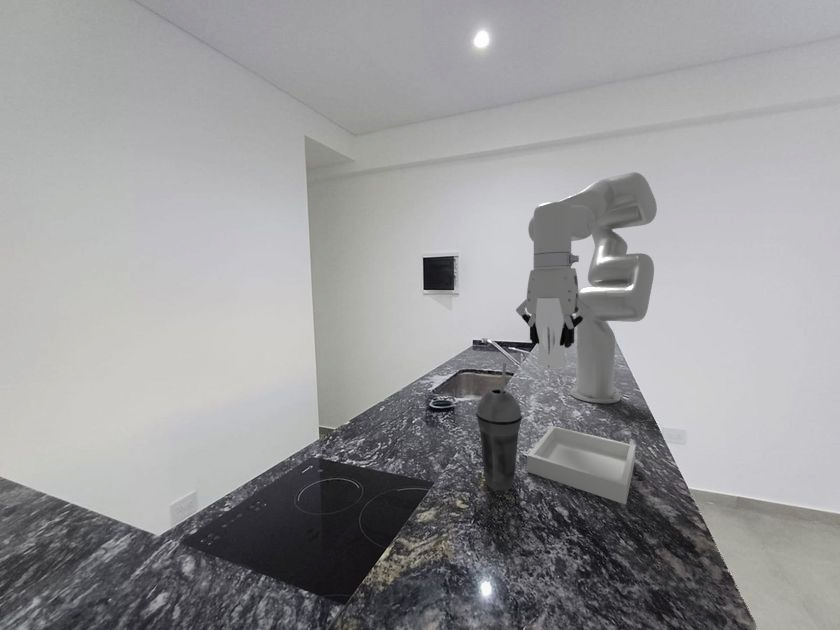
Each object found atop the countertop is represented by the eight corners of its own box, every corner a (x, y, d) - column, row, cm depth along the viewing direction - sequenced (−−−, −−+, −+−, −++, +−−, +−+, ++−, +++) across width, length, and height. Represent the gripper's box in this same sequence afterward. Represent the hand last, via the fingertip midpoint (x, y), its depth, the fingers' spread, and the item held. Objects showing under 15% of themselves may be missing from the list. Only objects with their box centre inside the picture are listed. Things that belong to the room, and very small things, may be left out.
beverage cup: (468, 475, 55) (467, 361, 54) (504, 466, 58) (504, 357, 56) (492, 501, 49) (491, 371, 47) (531, 489, 51) (532, 366, 50)
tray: (551, 439, 68) (551, 425, 67) (634, 461, 59) (635, 445, 58) (527, 471, 56) (527, 455, 56) (625, 504, 47) (626, 485, 47)
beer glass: (562, 361, 74) (562, 296, 73) (573, 368, 67) (573, 297, 66) (531, 361, 75) (530, 297, 74) (539, 369, 68) (538, 298, 67)
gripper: (600, 260, 67) (598, 346, 68) (519, 265, 77) (519, 339, 79) (593, 259, 61) (591, 352, 63) (506, 264, 72) (507, 344, 73)
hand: (551, 344), depth 71 cm, fingers closed on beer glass, 6 cm apart
